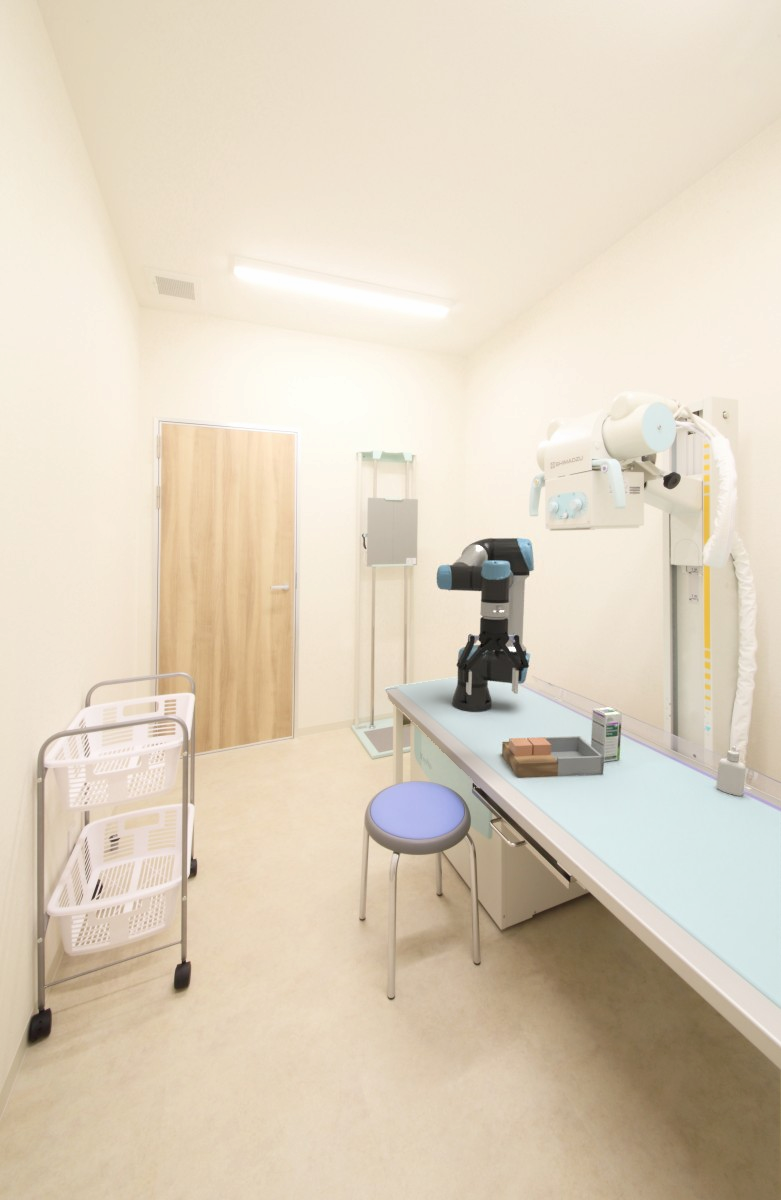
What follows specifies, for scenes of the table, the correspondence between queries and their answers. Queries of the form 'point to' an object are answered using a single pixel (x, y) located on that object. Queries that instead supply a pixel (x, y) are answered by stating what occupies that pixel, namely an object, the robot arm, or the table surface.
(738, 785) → the eye dropper bottle
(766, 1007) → the table surface
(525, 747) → the tile
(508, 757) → the board
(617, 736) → the syrup box
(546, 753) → the tile
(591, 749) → the bin
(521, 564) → the robot arm
